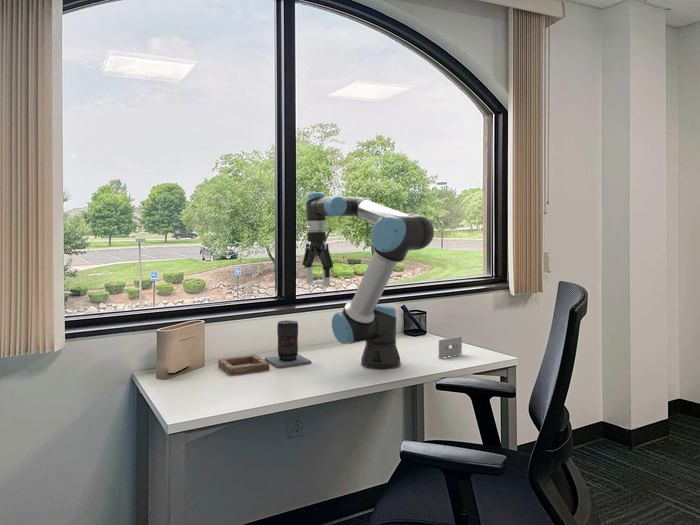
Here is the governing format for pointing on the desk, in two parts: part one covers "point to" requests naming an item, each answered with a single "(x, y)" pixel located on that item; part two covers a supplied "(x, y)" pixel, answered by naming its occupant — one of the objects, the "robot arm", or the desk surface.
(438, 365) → the desk surface
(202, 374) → the desk surface
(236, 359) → the brown flat square frame
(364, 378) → the desk surface
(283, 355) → the camera lens
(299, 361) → the mat
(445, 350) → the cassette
